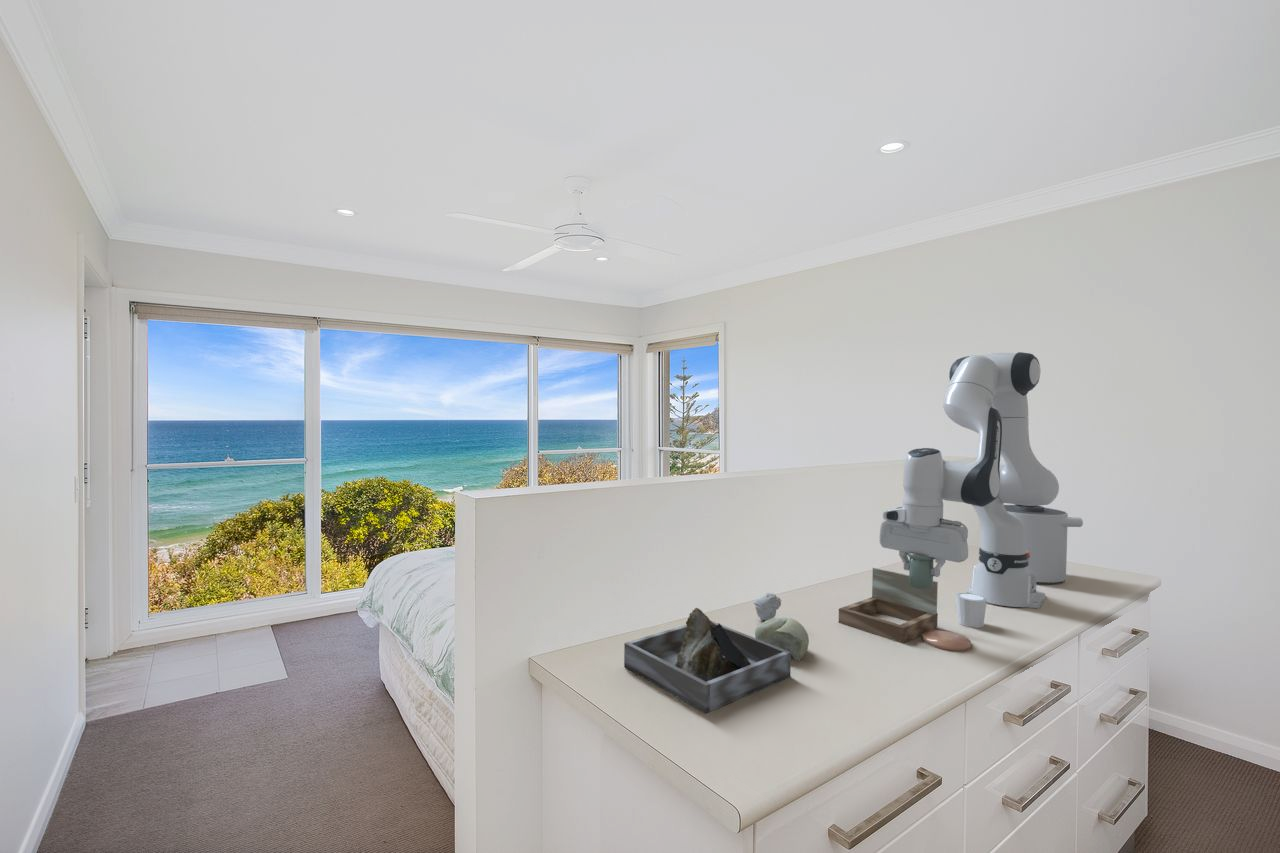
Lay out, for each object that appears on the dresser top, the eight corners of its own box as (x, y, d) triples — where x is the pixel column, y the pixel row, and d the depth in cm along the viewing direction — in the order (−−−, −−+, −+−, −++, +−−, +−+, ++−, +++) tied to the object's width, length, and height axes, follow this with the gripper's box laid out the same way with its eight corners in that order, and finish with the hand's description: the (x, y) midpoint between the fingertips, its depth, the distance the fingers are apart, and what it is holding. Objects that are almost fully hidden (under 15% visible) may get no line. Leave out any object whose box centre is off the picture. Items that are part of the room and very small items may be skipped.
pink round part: (934, 631, 145) (934, 627, 145) (978, 644, 137) (978, 639, 137) (914, 640, 139) (914, 636, 139) (959, 654, 131) (959, 650, 131)
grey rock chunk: (781, 625, 148) (781, 598, 148) (752, 623, 150) (753, 595, 149) (781, 617, 154) (781, 591, 154) (753, 615, 155) (754, 588, 155)
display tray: (706, 640, 138) (706, 618, 138) (790, 676, 119) (790, 652, 119) (624, 666, 123) (624, 643, 123) (705, 713, 104) (706, 685, 104)
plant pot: (915, 580, 147) (915, 548, 147) (939, 586, 142) (940, 553, 142) (902, 584, 143) (903, 551, 143) (927, 591, 138) (927, 556, 138)
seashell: (747, 616, 133) (775, 602, 139) (747, 648, 135) (774, 632, 141) (794, 638, 123) (822, 622, 130) (794, 673, 125) (821, 655, 131)
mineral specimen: (772, 646, 125) (746, 620, 113) (749, 720, 119) (719, 701, 107) (715, 627, 133) (686, 601, 121) (691, 695, 127) (657, 675, 115)
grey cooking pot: (1043, 568, 206) (1045, 502, 205) (1082, 586, 185) (1085, 512, 184) (978, 566, 208) (980, 500, 207) (1010, 583, 187) (1012, 510, 186)
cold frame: (874, 608, 161) (875, 567, 161) (937, 627, 148) (938, 581, 148) (838, 622, 151) (839, 577, 150) (903, 643, 137) (904, 594, 137)
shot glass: (990, 629, 147) (991, 601, 146) (960, 627, 148) (961, 599, 148) (980, 620, 153) (981, 593, 153) (951, 618, 155) (952, 591, 155)
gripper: (974, 521, 136) (972, 580, 136) (890, 509, 152) (889, 562, 152) (961, 524, 132) (960, 585, 132) (876, 511, 148) (875, 566, 149)
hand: (921, 572), depth 142 cm, fingers closed on plant pot, 5 cm apart
